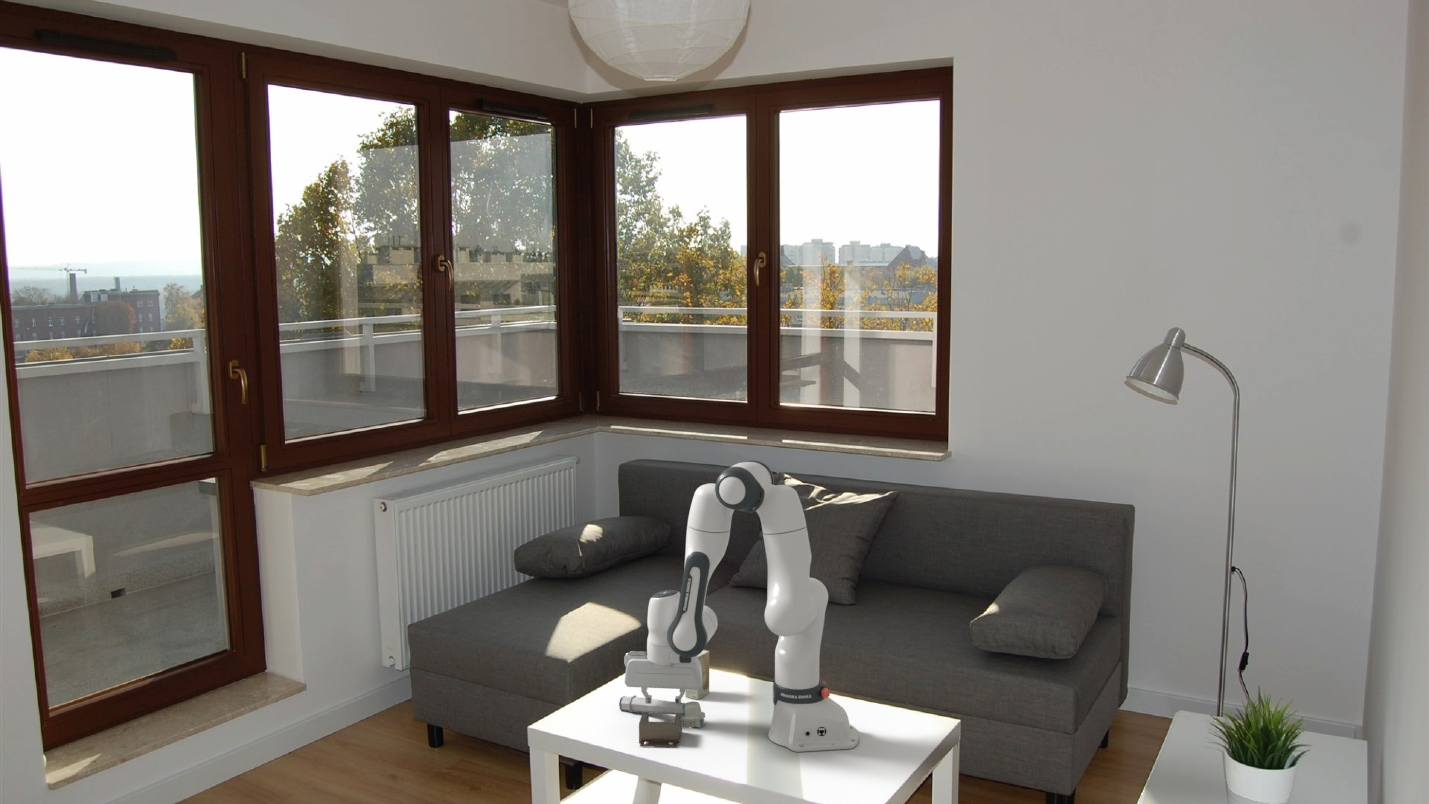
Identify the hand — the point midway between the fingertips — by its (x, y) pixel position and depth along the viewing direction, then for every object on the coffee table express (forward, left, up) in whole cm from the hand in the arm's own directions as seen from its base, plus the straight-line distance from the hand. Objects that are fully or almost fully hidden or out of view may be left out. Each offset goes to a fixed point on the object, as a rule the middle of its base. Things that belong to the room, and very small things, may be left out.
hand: (663, 703), depth 280 cm
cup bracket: (-1, +12, -4) cm, 13 cm away
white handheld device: (0, -1, -5) cm, 5 cm away
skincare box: (-8, -18, -5) cm, 20 cm away
